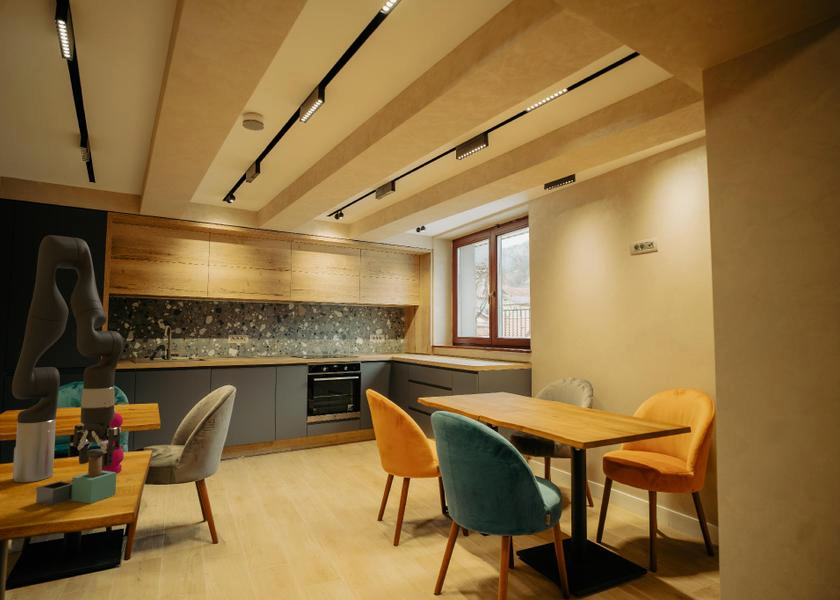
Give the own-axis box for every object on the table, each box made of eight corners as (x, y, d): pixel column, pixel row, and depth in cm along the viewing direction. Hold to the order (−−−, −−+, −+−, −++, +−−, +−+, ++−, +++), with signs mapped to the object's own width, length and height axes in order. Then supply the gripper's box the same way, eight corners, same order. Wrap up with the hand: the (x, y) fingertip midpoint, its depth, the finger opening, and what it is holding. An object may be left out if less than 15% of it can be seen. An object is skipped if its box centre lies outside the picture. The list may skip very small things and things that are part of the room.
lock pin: (81, 499, 127) (83, 451, 128) (95, 494, 131) (97, 448, 132) (92, 500, 126) (94, 452, 127) (105, 496, 130) (107, 449, 131)
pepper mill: (109, 476, 147) (112, 410, 148) (90, 475, 148) (93, 409, 150) (128, 469, 154) (131, 406, 155) (109, 468, 155) (112, 406, 157)
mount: (36, 503, 124) (36, 487, 125) (59, 495, 130) (60, 480, 130) (52, 506, 122) (53, 490, 123) (75, 498, 128) (76, 483, 128)
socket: (71, 500, 126) (72, 477, 127) (96, 491, 133) (97, 469, 133) (90, 503, 124) (91, 480, 125) (115, 494, 131) (116, 472, 131)
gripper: (65, 404, 129) (62, 466, 128) (104, 408, 124) (101, 471, 123) (92, 401, 136) (89, 459, 135) (130, 403, 131) (127, 463, 130)
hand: (95, 465), depth 129 cm, fingers open, 8 cm apart
